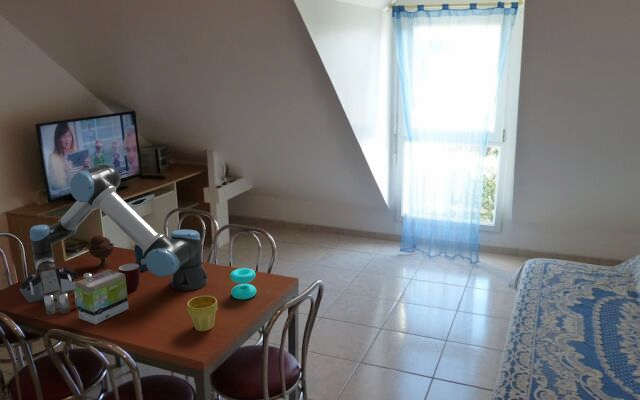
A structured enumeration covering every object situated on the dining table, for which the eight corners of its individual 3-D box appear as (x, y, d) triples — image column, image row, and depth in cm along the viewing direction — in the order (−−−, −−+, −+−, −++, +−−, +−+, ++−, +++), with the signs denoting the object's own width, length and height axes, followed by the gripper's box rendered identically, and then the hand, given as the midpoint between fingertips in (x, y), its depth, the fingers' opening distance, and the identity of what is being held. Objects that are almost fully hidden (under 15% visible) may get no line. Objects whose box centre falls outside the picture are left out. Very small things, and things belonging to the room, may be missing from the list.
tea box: (96, 325, 207) (91, 287, 203) (78, 319, 212) (73, 281, 208) (129, 309, 219) (125, 273, 215) (112, 303, 224) (107, 268, 220)
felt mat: (81, 288, 238) (81, 287, 237) (29, 303, 225) (29, 301, 225) (69, 277, 250) (69, 275, 249) (19, 290, 237) (18, 288, 237)
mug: (124, 297, 229) (121, 274, 226) (111, 293, 233) (108, 270, 230) (145, 288, 237) (143, 265, 234) (133, 284, 241) (130, 261, 239)
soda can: (137, 266, 261) (134, 241, 258) (153, 264, 262) (150, 239, 259) (136, 271, 254) (133, 246, 251) (152, 270, 256) (149, 244, 253)
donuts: (257, 275, 223) (231, 278, 221) (258, 298, 226) (232, 301, 224) (253, 265, 233) (228, 268, 230) (254, 288, 235) (230, 291, 233)
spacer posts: (106, 301, 226) (104, 284, 224) (49, 317, 213) (47, 300, 211) (92, 287, 238) (90, 272, 237) (37, 303, 225) (34, 286, 224)
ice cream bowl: (111, 270, 256) (107, 238, 252) (86, 270, 257) (82, 238, 253) (120, 261, 267) (116, 230, 263) (96, 261, 267) (92, 231, 263)
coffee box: (65, 307, 222) (59, 268, 217) (46, 311, 218) (40, 271, 214) (61, 298, 229) (55, 260, 225) (43, 302, 226) (37, 264, 222)
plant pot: (186, 334, 199) (184, 308, 197) (192, 320, 209) (190, 295, 207) (216, 333, 199) (214, 308, 197) (221, 319, 209) (219, 295, 207)
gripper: (80, 271, 244) (88, 289, 226) (14, 284, 232) (16, 304, 214) (77, 254, 242) (85, 271, 224) (11, 266, 230) (13, 285, 212)
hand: (52, 287), depth 219 cm, fingers open, 13 cm apart
